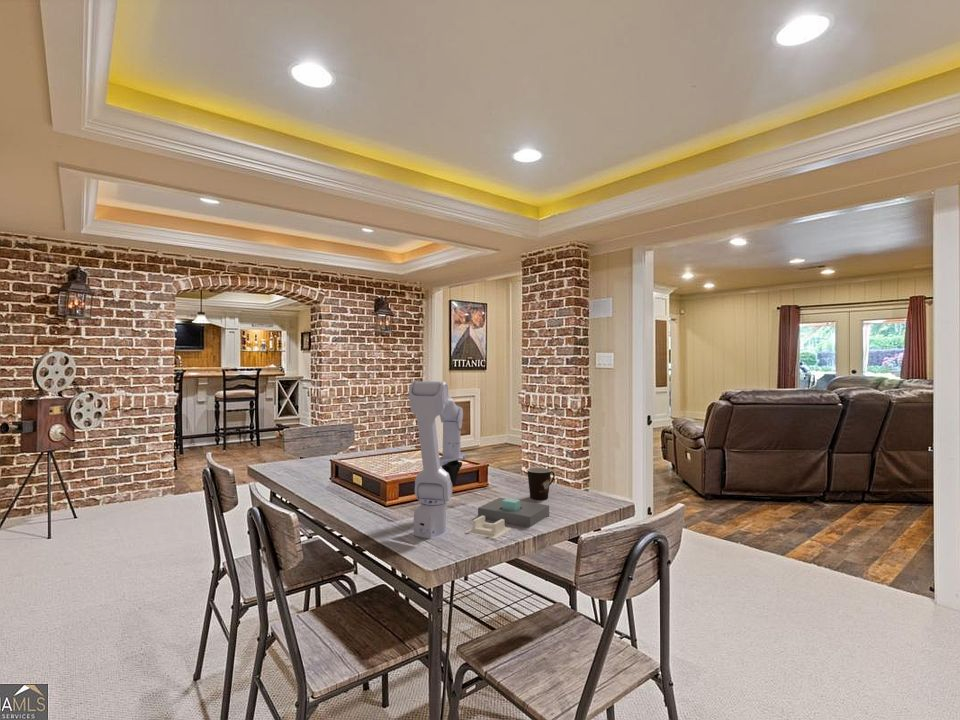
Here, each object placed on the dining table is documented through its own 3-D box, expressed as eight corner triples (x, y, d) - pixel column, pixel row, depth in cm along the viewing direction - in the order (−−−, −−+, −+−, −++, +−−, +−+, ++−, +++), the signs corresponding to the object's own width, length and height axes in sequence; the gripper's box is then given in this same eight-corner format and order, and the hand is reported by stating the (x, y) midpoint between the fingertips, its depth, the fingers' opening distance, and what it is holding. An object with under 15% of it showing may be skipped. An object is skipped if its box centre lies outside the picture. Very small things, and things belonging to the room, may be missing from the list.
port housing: (530, 528, 153) (530, 516, 153) (477, 518, 162) (477, 507, 162) (549, 516, 165) (549, 505, 165) (499, 508, 174) (499, 497, 174)
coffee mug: (531, 501, 182) (531, 473, 182) (523, 495, 191) (524, 468, 191) (562, 499, 185) (562, 471, 185) (553, 493, 193) (553, 466, 193)
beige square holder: (495, 540, 143) (495, 527, 143) (464, 533, 148) (464, 521, 148) (511, 530, 152) (512, 518, 152) (482, 524, 157) (482, 512, 157)
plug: (515, 522, 159) (515, 502, 159) (502, 520, 161) (502, 500, 161) (520, 519, 162) (520, 500, 162) (507, 517, 164) (507, 498, 164)
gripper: (449, 446, 159) (449, 491, 159) (474, 440, 171) (473, 481, 171) (430, 444, 163) (430, 488, 163) (456, 438, 175) (455, 479, 175)
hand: (451, 484), depth 167 cm, fingers closed
